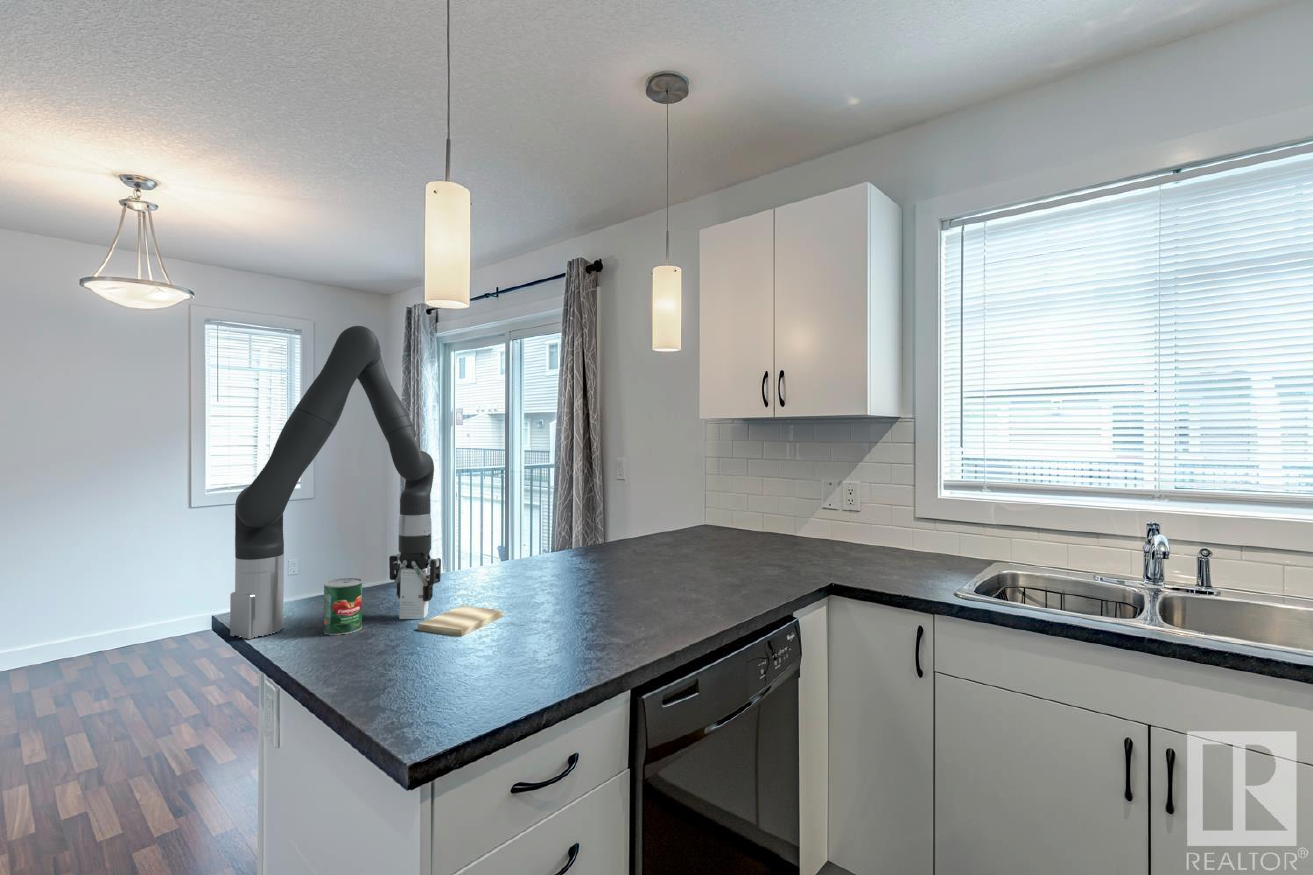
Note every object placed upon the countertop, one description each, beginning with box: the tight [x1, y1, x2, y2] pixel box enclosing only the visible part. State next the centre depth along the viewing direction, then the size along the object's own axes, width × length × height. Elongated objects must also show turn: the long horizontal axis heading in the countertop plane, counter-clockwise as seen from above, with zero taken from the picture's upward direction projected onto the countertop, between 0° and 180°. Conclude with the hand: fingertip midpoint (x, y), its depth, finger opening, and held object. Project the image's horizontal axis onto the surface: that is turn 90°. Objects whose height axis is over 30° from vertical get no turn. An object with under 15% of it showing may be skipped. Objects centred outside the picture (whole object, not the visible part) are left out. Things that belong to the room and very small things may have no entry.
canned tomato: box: [323, 577, 363, 636], centre depth 140 cm, size 8×8×11 cm
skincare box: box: [398, 567, 430, 620], centre depth 151 cm, size 6×4×12 cm
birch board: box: [417, 605, 504, 637], centre depth 146 cm, size 16×12×2 cm
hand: (414, 599), depth 151 cm, fingers closed on skincare box, 7 cm apart
